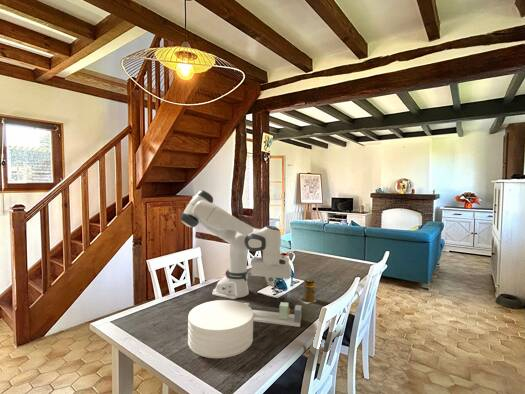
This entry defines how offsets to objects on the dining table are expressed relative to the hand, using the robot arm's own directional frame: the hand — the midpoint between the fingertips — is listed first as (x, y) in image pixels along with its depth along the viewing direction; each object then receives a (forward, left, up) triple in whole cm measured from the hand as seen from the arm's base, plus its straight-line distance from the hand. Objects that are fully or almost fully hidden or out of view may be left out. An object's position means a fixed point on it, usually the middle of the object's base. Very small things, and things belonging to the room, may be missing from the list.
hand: (270, 285), depth 143 cm
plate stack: (-17, -24, -17) cm, 34 cm away
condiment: (+18, +26, -17) cm, 36 cm away
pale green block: (+7, -1, -15) cm, 17 cm away
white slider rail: (+1, -1, -17) cm, 17 cm away
